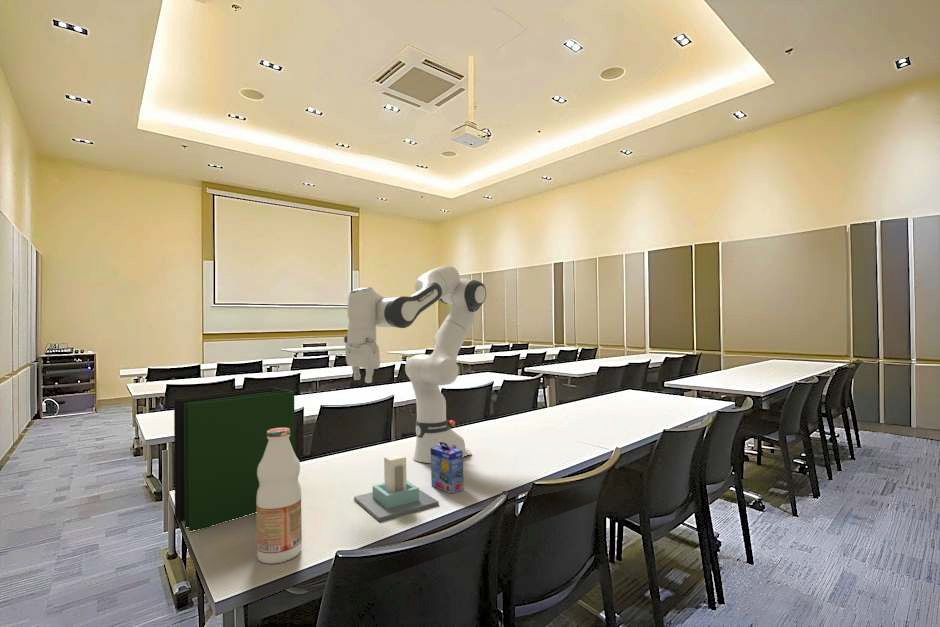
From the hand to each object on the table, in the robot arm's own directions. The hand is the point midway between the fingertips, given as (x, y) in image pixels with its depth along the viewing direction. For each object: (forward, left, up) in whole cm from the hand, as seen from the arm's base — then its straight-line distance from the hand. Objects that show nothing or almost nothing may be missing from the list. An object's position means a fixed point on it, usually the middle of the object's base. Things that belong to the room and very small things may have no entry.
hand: (362, 381), depth 148 cm
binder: (+36, -4, -33) cm, 49 cm away
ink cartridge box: (-20, +18, -33) cm, 43 cm away
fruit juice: (+32, +30, -33) cm, 55 cm away
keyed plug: (-2, +19, -32) cm, 37 cm away
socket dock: (-2, +19, -33) cm, 38 cm away
